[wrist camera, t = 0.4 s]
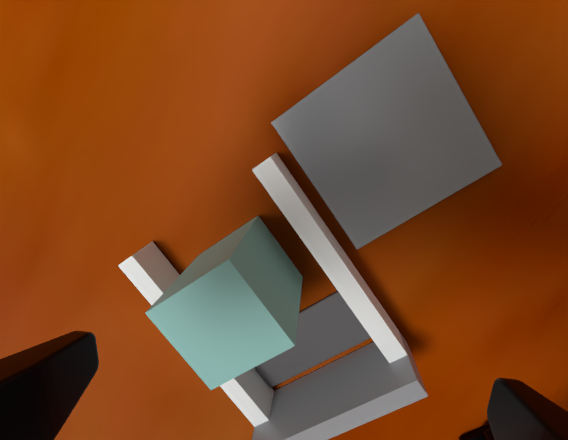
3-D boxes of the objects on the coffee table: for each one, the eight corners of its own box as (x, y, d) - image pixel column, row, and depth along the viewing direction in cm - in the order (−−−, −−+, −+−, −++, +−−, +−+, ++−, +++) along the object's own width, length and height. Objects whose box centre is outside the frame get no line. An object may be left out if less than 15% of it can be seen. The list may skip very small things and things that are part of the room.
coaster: (496, 163, 18) (502, 165, 18) (356, 246, 20) (357, 249, 20) (415, 16, 17) (418, 12, 16) (272, 122, 19) (271, 122, 18)
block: (302, 276, 21) (295, 345, 15) (243, 311, 23) (211, 390, 16) (258, 215, 21) (228, 259, 14) (198, 255, 22) (145, 313, 15)
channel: (407, 342, 22) (428, 396, 18) (270, 408, 25) (259, 468, 20) (276, 152, 19) (263, 160, 15) (139, 250, 22) (96, 280, 18)
